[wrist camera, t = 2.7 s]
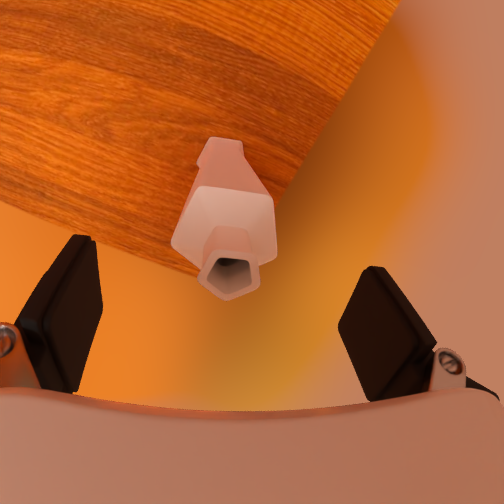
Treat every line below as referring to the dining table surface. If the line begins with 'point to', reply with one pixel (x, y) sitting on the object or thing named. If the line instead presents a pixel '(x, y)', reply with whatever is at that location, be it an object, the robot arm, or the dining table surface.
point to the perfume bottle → (227, 221)
